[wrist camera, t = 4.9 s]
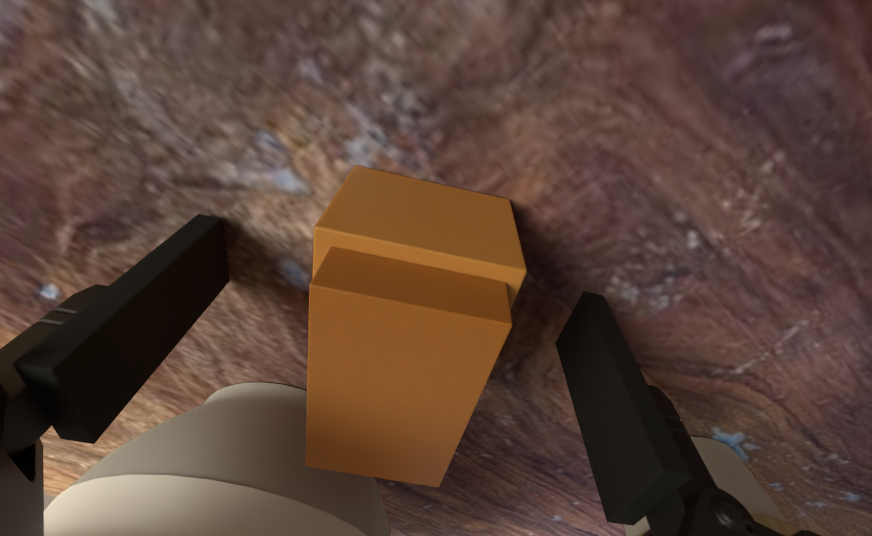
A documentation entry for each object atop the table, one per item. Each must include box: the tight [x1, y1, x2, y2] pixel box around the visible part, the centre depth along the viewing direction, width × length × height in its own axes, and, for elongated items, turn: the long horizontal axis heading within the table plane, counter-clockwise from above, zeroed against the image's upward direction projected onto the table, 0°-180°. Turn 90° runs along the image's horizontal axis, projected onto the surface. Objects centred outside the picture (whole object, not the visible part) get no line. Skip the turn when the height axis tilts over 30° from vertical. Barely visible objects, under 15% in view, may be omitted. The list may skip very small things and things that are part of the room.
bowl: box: [44, 382, 391, 536], centre depth 17 cm, size 16×16×9 cm
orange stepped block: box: [305, 166, 527, 487], centre depth 12 cm, size 5×8×6 cm, turn 168°
